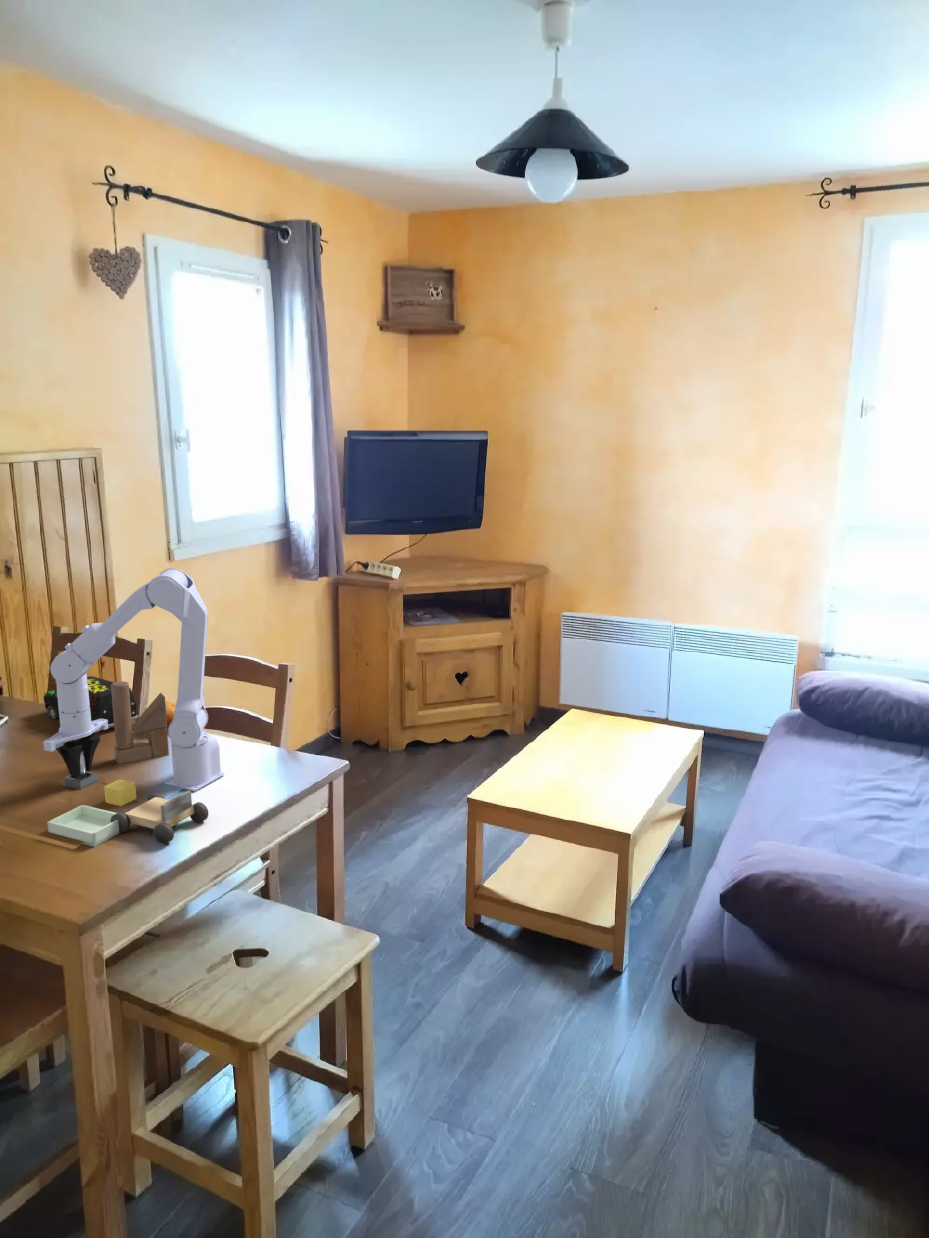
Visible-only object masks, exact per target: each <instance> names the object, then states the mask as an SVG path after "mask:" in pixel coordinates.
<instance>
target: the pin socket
mask: <svg viewBox="0 0 929 1238" xmlns="http://www.w3.org/2000/svg"><path fill="white" fill-rule="evenodd" d="M86 773H87V777H85V778H83V779H81V780H79V779H75V776H72V775H70V774H69V775H67V776H65V777H63V780H64V784H62V787H67V788H72V789H74V790H75V789H76V790H80V791H81V790H84V789H86V788H88V787H90V786H92V785H94V784H96V783H98V782H101V780H99V779H98V773H96V772H91V771H89V772H87V771H86Z"/></svg>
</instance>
